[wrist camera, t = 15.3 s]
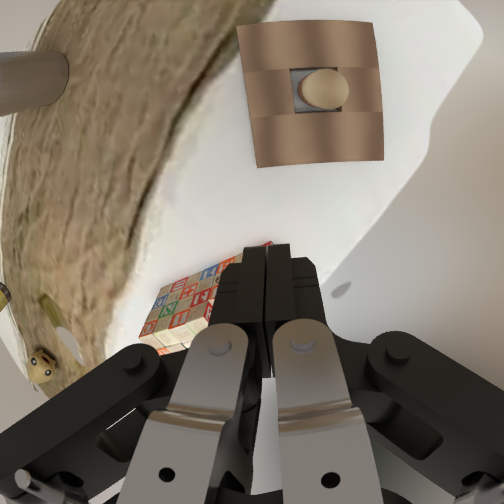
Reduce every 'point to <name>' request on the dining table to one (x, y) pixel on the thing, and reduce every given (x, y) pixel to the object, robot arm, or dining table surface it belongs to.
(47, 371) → the tan toy head
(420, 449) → the robot arm
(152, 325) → the stack of blocks
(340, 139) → the board
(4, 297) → the sauce bottle
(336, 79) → the peg
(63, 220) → the dining table surface
